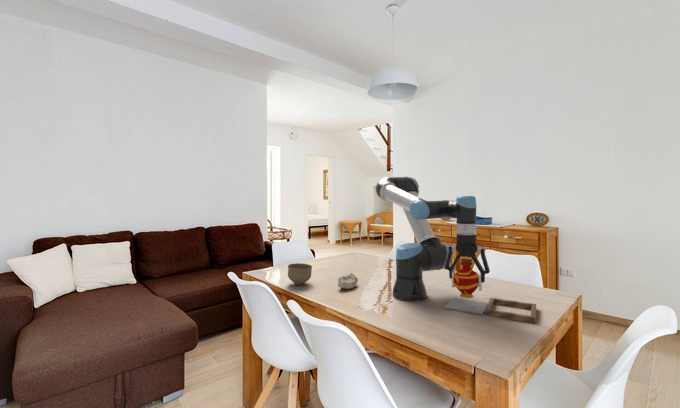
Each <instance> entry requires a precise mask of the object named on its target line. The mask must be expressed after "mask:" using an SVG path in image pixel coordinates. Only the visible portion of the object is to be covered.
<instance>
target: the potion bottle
mask: <svg viewBox="0 0 680 408" xmlns="http://www.w3.org/2000/svg"><path fill="white" fill-rule="evenodd" d="M460 259H461V262H460V265H462V268H460V269H458V270H457V271H455V274H454V276H453V277H454V282H453V283H454V286H455V287H454V288H456V289H457V290H458V291H459V292H460V293H461V294H460V295H459V297H461V298H462V299H472V298H474V295H473V293H474V292H475V291H476V290H477V289H479V273H478V272H477V271H475V270H473V267H471V266H473V263H472V260H473V259H472V258H460Z"/></svg>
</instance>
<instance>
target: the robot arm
mask: <svg viewBox="0 0 680 408" xmlns="http://www.w3.org/2000/svg"><path fill="white" fill-rule="evenodd" d="M375 193H376V195H377V196H378V197H379V198H380V199H381V200H383V201H387V202H388V201H390V202H391V203H393V204H394V205H396V206H399V207H400V208H402V210H403V213H404V215H405V216H406V219H407V222H408V223H409V226H410V227H411V228H410V229H411V230H412V233H413V236H414V237H415V239H416V242H408V243H404V244H400V245H398V246H397V248H396V250H395V269H396V270H395V271H396V275H395V276H396V278H395V282H394V285H393V288H392V296H393V298H395V299H398V300H401V301H408V302H414V301H415V302H417V301H422V300H425V299H427V294H428V292H427V289H426V286H425V283H424V279H423V272H430V271H441V270H443V269H444V270H447V271H448V276H449V280H451V288H456V287H455V286H454V283H453V282H454V277H453V276H454V274H455V273H456V270H454V269H455V268H456V266H457V264H458V263H459V260H460V259H461V258H465V257H467V258H470V259H471V260H473V263H474V264H475V266H476V267H477V269H478V272H479V273H478V275H479V286H478V292H482V290H483V283H485V282H486V281H485V280H486V274H487V275H488V274H489V273H490V272H491V270H490V267H489V264H488V263H489V262H488V260H487V257H486V248H485V247H478V246H477V245H478V244H477V235H476V234H477V207H478V206H477V198H476V197H475V196H474V195H458V196H456V200H450V199H449V200H447V199H445V200H425V199H423V198H421V197H419V194H420V186H419V183H418V181H417V180H416V179H415V178H413V177H412V176H411V177H410V176H387V177H386V176H385V177H383V178H381V179H380V180H379V181H378V182H377V183H376V185H375ZM432 219H456V233H457V234H456V245H455V246H453V245H448V244H446V243H442V241H441V239H440V237H438V236H435V234H434V232H433V230H432V227H431V226H430V223H429V222H428V220H432ZM455 251H456V252H457V253H458V254H457V255H456V257H455V259H454V261H452V258H453V254H454V252H455ZM476 252H478V253H479V254H480V258H481V260H482V264H483V266H482V264H481V262H480V261H479V259H478V257H477V255H476ZM451 262H452V264H451ZM483 267H484V268H483Z"/></svg>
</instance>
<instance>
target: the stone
mask: <svg viewBox="0 0 680 408" xmlns="http://www.w3.org/2000/svg"><path fill="white" fill-rule="evenodd" d="M337 280H338V283H337V286H338V287H339V288H341V289H345V290H346V289H347V290H350V289H354V288H355V287H356V286H357V285H358V282H359V280H358V277H357V276H356V275H355V274H354V273H352V272H350V273H345V274H344V275H342V276H339V277H338V278H337Z"/></svg>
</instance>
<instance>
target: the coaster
mask: <svg viewBox="0 0 680 408" xmlns="http://www.w3.org/2000/svg"><path fill="white" fill-rule="evenodd" d="M487 304H488V302H483V301H479V300H478V301H477V300H471V299H467V298H458V297H452V298H451V299H450V300H449V302H447V304H446V305H445V307H444V310H450V311H456V312H463V313H467V314H472V315H479V316H483V315H484V314H485V308H486V306H487Z"/></svg>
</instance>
